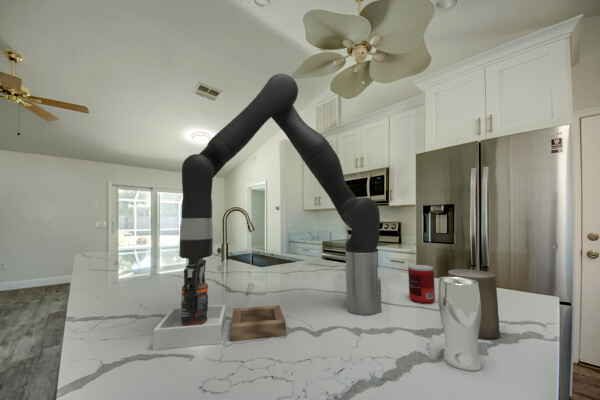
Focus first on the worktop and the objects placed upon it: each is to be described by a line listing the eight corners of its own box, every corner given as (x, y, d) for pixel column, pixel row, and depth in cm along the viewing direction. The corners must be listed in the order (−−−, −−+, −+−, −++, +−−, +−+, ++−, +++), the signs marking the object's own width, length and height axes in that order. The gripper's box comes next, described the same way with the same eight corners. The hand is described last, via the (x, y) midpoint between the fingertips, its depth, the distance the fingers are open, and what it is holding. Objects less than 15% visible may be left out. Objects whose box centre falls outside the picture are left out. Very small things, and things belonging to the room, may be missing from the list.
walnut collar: (279, 316, 72) (279, 305, 72) (285, 335, 60) (285, 322, 60) (233, 320, 69) (233, 308, 70) (230, 341, 57) (230, 327, 57)
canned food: (436, 299, 86) (434, 265, 87) (433, 306, 80) (432, 269, 81) (411, 295, 91) (410, 263, 91) (407, 301, 84) (406, 267, 85)
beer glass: (433, 353, 52) (429, 276, 53) (465, 351, 52) (462, 276, 53) (457, 373, 45) (452, 285, 46) (494, 371, 45) (489, 284, 47)
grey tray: (225, 319, 70) (226, 304, 70) (220, 343, 56) (221, 324, 57) (171, 324, 67) (171, 308, 67) (152, 350, 54) (153, 330, 54)
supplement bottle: (212, 319, 64) (213, 272, 65) (198, 329, 58) (199, 277, 59) (191, 317, 65) (192, 271, 66) (175, 327, 59) (176, 276, 60)
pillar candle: (503, 330, 62) (498, 266, 63) (496, 344, 55) (490, 272, 56) (457, 320, 69) (454, 262, 70) (446, 331, 62) (442, 267, 63)
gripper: (208, 238, 57) (207, 317, 56) (216, 235, 71) (215, 297, 70) (171, 239, 56) (169, 320, 54) (186, 235, 70) (185, 299, 68)
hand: (195, 307), depth 62 cm, fingers closed on supplement bottle, 6 cm apart
